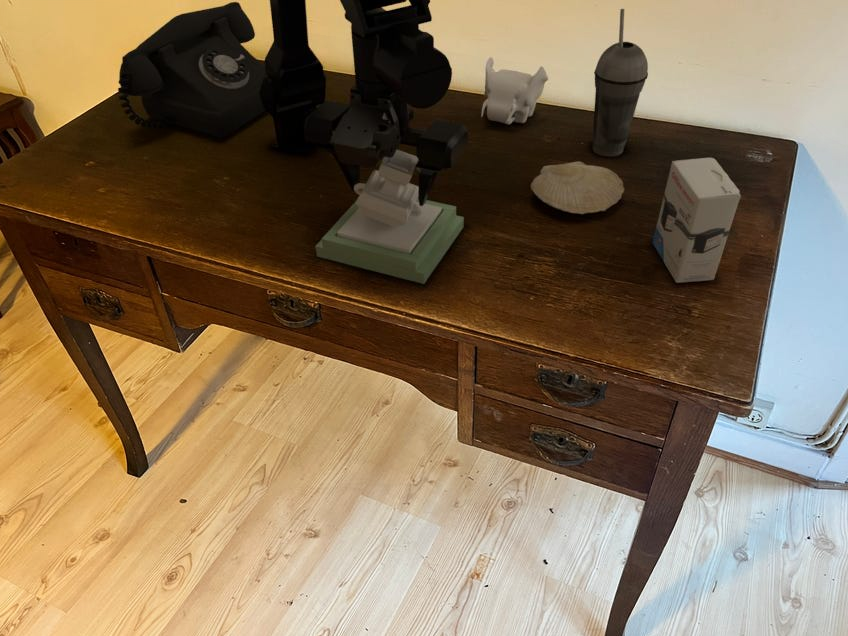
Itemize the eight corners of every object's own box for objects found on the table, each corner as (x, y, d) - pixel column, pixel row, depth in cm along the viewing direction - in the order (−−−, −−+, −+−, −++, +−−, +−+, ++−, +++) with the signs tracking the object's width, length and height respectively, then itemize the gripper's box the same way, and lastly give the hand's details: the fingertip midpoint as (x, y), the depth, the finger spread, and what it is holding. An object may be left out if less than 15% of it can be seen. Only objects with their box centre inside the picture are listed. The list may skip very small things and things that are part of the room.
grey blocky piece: (422, 212, 95) (442, 158, 89) (410, 242, 90) (429, 187, 84) (357, 187, 95) (372, 131, 89) (342, 215, 90) (356, 158, 84)
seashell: (596, 233, 95) (599, 214, 93) (515, 206, 100) (517, 188, 98) (631, 192, 101) (635, 173, 99) (554, 169, 106) (556, 151, 104)
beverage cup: (633, 162, 107) (662, 20, 93) (582, 159, 108) (603, 18, 94) (632, 138, 112) (659, 0, 98) (583, 135, 113) (603, -2, 99)
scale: (316, 256, 94) (313, 237, 92) (363, 204, 102) (361, 185, 100) (424, 284, 89) (423, 264, 87) (463, 227, 97) (464, 207, 95)
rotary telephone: (235, 69, 137) (218, -17, 126) (310, 87, 130) (298, -2, 119) (111, 140, 119) (79, 46, 108) (190, 165, 112) (164, 68, 101)
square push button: (338, 242, 93) (336, 232, 91) (373, 202, 99) (372, 192, 98) (409, 260, 89) (409, 249, 88) (441, 217, 96) (441, 207, 94)
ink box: (650, 242, 93) (670, 158, 84) (688, 239, 93) (712, 155, 85) (674, 284, 87) (698, 198, 78) (715, 281, 87) (743, 194, 79)
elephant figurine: (465, 128, 116) (466, 73, 110) (497, 98, 123) (500, 44, 117) (521, 141, 113) (525, 85, 106) (550, 109, 120) (556, 54, 114)
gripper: (268, 90, 78) (290, 215, 89) (430, 119, 72) (431, 249, 82) (320, 50, 85) (334, 170, 96) (471, 73, 79) (468, 199, 90)
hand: (388, 196), depth 91 cm, fingers open, 9 cm apart
